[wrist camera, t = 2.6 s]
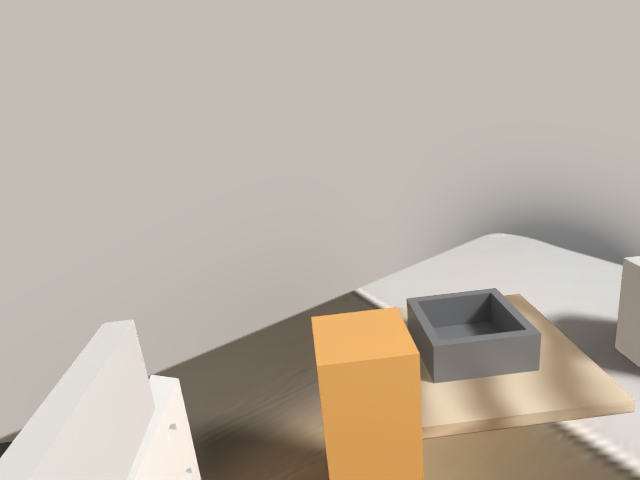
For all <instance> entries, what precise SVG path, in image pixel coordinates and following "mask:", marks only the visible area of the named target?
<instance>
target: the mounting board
mask: <svg viewBox="0 0 640 480" xmlns="http://www.w3.org/2000/svg"><path fill="white" fill-rule="evenodd" d="M504 297H505V298H506V299H507V300H508V301H509V302H510V303H511V304H512V305H513V306H514V307H515V308H516V309H517V310H518V311H519V312H520V313H521V314H522V315H523V316H524V317H525V318H526V319H527V320H528V321H529V322H530V323H531V324H532V325H533V326H534V327H535V328H536V329H537V330H538V331H539V332H540V333H541V348H540V364H539V371H531V372H523V373H515V374H507V375H499V376H491V377H482V378H474V379H466V380H458V381H450V382H442V383H434V382H433V380H432V378H431V376H430V374H429V372H428V370H427V368H426V366H425V364H424V362H423V360H422V358H421V356H420V381H421V414H422V439H425V438H432V437H440V436H448V435H456V434H464V433H471V432H479V431H487V430H495V429H503V428H510V427H518V426H526V425H534V424H541V423H549V422H557V421H565V420H573V419H580V418H588V417H596V416H604V415H612V414H619V413H627V412H634V409H635V402H636V400H635V399H634V398H633V397H632V396H631V395H630V394H629V393H627V392H626V391H625V390H624V389H623V388H622V387H621V386H620V385H619V384H618V383H616V382H615V381H614V380H613V379H612V378H611V377H610V376H609V375H608V374H607V373H606V372H604V371H603V370H602V369H601V368H600V367H599V366H598V365H597V364H596V363H595V362H594V361H592V360H591V359H590V358H589V357H588V356H587V355H586V354H585V353H584V352H583V351H581V350H580V349H579V348H578V347H577V346H576V345H575V344H574V343H573V342H572V341H571V340H569V339H568V338H567V337H566V336H565V335H564V334H563V333H562V332H561V331H560V330H559V329H557V328H556V327H555V326H554V325H553V324H552V323H551V322H550V321H549V320H548V319H546V318H545V317H544V316H543V315H542V314H541V313H540V312H539V311H538V310H537V309H536V308H534V307H533V306H532V305H531V304H530V303H529V302H528V301H527V300H526V299H525V298H523V297H522V296H521V295H520V294H515V295H506V296H504ZM397 309H398V311H399V313H400V315H401V317H402V319H403V321H404V323H405V325H406V327H407V329H408V318H407V307H405V308H397Z"/></svg>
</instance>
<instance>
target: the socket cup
mask: <svg viewBox="0 0 640 480" xmlns="http://www.w3.org/2000/svg"><path fill="white" fill-rule="evenodd" d="M407 318H408V331H409V333H410V335H411V337H412V339H413V341H414V343H415V345H416V347H417V349H418V351H419V353H420V356H421V358H422V360H423V362H424V364H425V366H426V368H427V370H428V372H429V374H430V376H431V378H432V380H433V382H434V383H442V382H450V381H458V380H466V379H474V378H482V377H491V376H499V375H507V374H515V373H523V372H531V371H539V364H540V348H541V333H540V332H539V331H538V330H537V329H536V328H535V327H534V326H533V325H532V324H531V323H530V322H529V321H528V320H527V319H526V318H525V317H524V316H523V315H522V314H521V313H520V312H519V311H518V310H517V309H516V308H515V307H514V306H513V305H512V304H511V303H510V302H509V301H508V300H507V299H506V298H505V297H504V296H503V295H502V294H501V293H500V292H499V291H498V290H497V289H496V288H493V289H485V290H476V291H468V292H459V293H451V294H442V295H434V296H425V297H417V298H408V299H407Z"/></svg>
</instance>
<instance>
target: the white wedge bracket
mask: <svg viewBox="0 0 640 480" xmlns="http://www.w3.org/2000/svg"><path fill="white" fill-rule="evenodd" d="M149 384H150V388H151V392H152V396H153V400H154V404H155V411H154V413H153V416H152V418H151V421H150V423H149V426H148V428H147V431H146V433H145V436H144V438H143V441H142V443H141V445H140V448H139V450H138V453H137V455H136V458H135V460H134V463H133V465H132V468H131V470H130V473H129V475H128V478H127V480H201V477H200V473H199V468H198V464H197V459H196V455H195V450H194V446H193V441H192V437H191V432H190V428H189V423H188V419H187V415H186V410H185V406H184V401H183V397H182V392H181V388H180V383H179V379H177V378H170V377H163V376H156V375H151V377H150V379H149Z"/></svg>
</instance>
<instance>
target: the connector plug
mask: <svg viewBox="0 0 640 480" xmlns="http://www.w3.org/2000/svg"><path fill="white" fill-rule="evenodd" d="M311 318H312V327H313V336H314V345H315V354H316V363H317V372H318V381H319V391H320V400H321V409H322V418H323V427H324V436H325V445H326V454H327V463H328V472H329V480H423V448H422V414H421V381H420V353H419V351H418V349H417V347H416V345H415V343H414V341H413V339H412V337H411V335H410V333H409V331H408V329H407V327H406V325H405V323H404V321H403V319H402V317H401V315H400V313H399V311H398V309H397V307H394V308H386V309H377V310H369V311H360V312H352V313H343V314H335V315H326V316H318V317H311Z"/></svg>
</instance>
